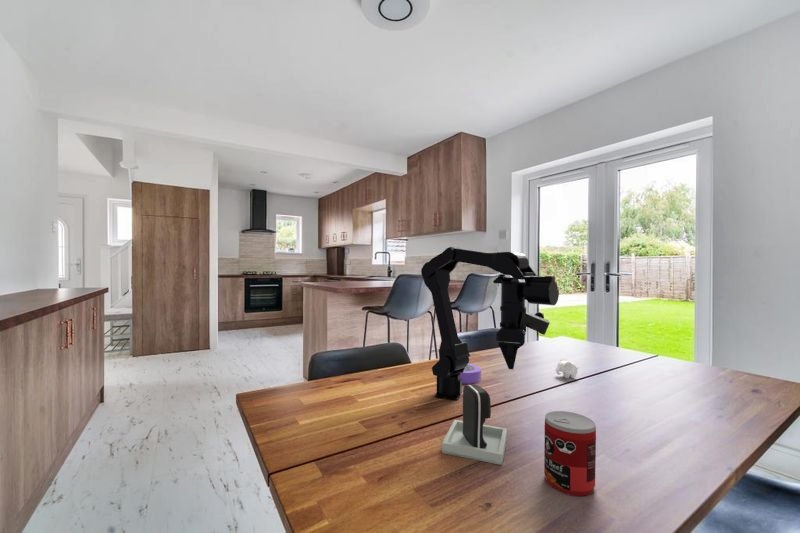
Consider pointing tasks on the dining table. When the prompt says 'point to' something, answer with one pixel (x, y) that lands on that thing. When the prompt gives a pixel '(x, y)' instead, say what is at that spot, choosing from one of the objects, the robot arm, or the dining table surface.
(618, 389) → the dining table surface
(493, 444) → the shallow rectangular tray
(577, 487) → the canned food
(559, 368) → the elephant figurine
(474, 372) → the masking tape
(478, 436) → the battery charger
